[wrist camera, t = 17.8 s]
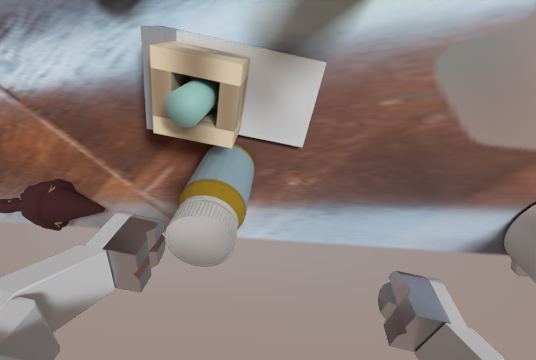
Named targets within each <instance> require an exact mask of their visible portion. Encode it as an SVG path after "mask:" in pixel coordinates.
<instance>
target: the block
mask: <svg viewBox="0 0 536 360" xmlns="http://www.w3.org/2000/svg"><path fill="white" fill-rule="evenodd" d="M250 59H251V57H247V56H242V55H238V54H233V53H228V52H224V51H219V50H215V49H210V48H205V47H201V46H196V45H191V44H187V43H182V42H177V41H172V42H166V43H159V44H153V45H150V65H151V88H152V111H153V133H156V134H162V135H167V136H172V137H177V138H182V139H187V140H192V141H197V142H202V143H207V144H212V145H217V146H222V147H227V148H232V147H233V145H234V143H235V140H236V138H237V136H238V133H239V131H240V129H241V123H242V115H243V108H244V101H245V94H246V87H247V80H248V73H249V66H250ZM191 76H193V77H198V78H203V79H208V80H212V81H217V82H220V90H219V101H218V109H216V108H212V109H211V110H210V111H209V112H208V113H207V114H206V115H205V116H204V117H203V118H202V119H201V120H200V121H199V122H198V124H196V125H195V126H193V127H181V126H178V125H177V124H175V123H174V122H172V121H171V120H170V118H169V117H168V115H167V113H166V111H165V99H166V97H167V96H168V94H169V93H170V92H172V91H174V90H176V89H177V88H179V87H181V86H183V85H184V84H186V83H188V82H190V81H191Z"/></svg>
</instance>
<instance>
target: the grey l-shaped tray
mask: <svg viewBox="0 0 536 360" xmlns="http://www.w3.org/2000/svg"><path fill="white" fill-rule="evenodd" d="M141 37H142V54H143V72H144V89H145V107H146V124H147V129H151V130H153V111H152V88H151V65H150V45H153V44H159V43H166V42H172V41H177V42H182V43H187V44H191V45H196V46H201V47H205V48H210V49H215V50H219V51H224V52H228V53H233V54H238V55H242V56H247V57H251V59H250V66H249V73H248V80H247V87H246V94H245V101H244V108H243V115H242V123H241V129H240V131H239V133H238V135H243V136H248V137H253V138H258V139H263V140H268V141H273V142H278V143H283V144H287V145H292V146H297V147H303V144H304V140H305V137H306V133H307V130H308V126H309V123H310V119H311V115H312V112H313V108H314V105H315V101H316V98H317V94H318V91H319V87H320V84H321V80H322V77H323V73H324V70H325V66H326V62H324V61H320V60H315V59H311V58H306V57H301V56H297V55H292V54H288V53H283V52H279V51H274V50H269V49H265V48H260V47H256V46H251V45H246V44H242V43H237V42H233V41H228V40H224V39H219V38H214V37H210V36H205V35H201V34H196V33H192V32H187V31H182V30H178V29H173V28H169V27H164V26H141ZM195 78H197V77H193V76H191V81H192V80H193V79H195ZM213 108H216V109H218V102H217V103H216V105H215V106H214V107H213Z"/></svg>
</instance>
